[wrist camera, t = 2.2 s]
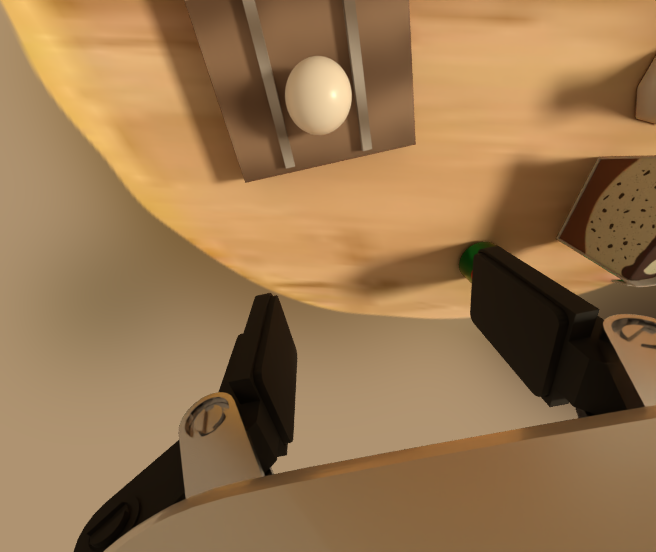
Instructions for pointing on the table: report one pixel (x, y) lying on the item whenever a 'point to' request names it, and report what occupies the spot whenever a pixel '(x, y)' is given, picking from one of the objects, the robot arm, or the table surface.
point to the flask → (647, 96)
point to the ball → (318, 95)
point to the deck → (280, 59)
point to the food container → (617, 219)
